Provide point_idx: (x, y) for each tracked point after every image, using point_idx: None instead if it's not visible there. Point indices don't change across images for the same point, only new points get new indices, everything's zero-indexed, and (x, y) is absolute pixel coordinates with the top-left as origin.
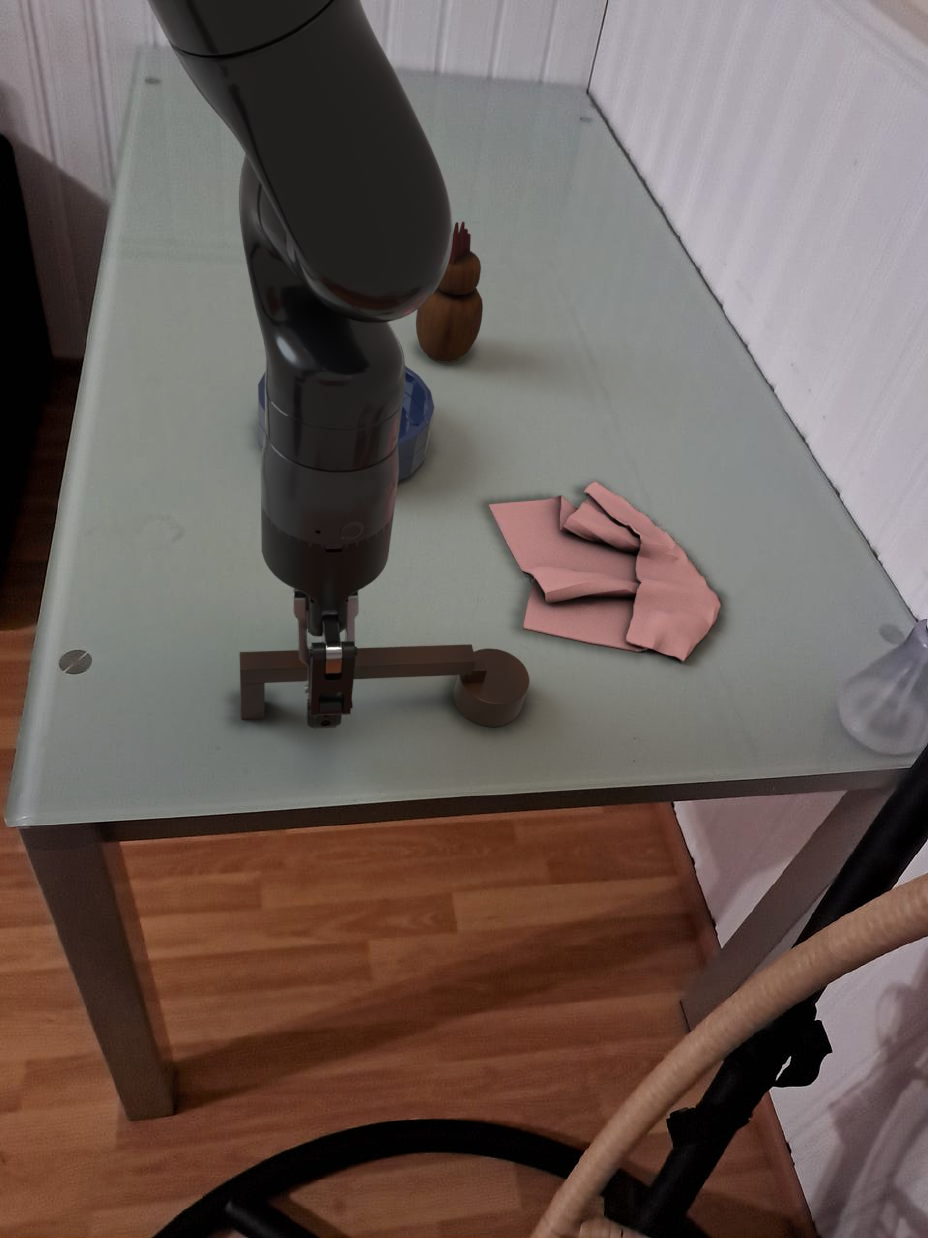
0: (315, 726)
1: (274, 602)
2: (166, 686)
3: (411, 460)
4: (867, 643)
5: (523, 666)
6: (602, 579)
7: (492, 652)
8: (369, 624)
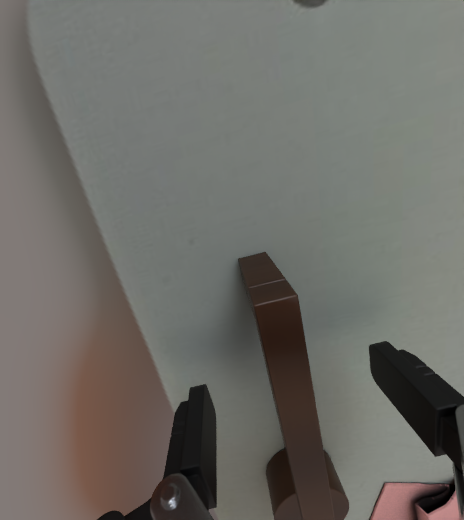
0: (174, 416)
1: (429, 257)
2: (278, 148)
3: None
4: None
5: None
6: None
7: (343, 508)
8: None
